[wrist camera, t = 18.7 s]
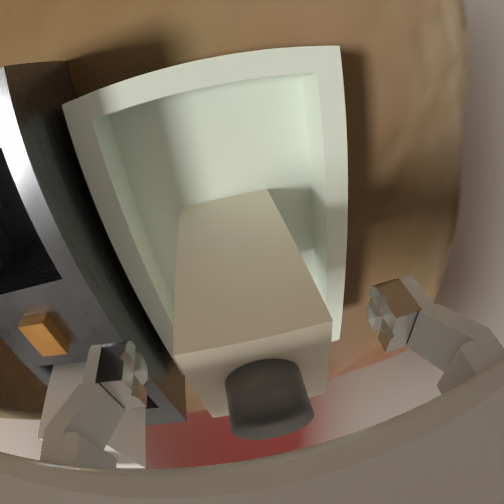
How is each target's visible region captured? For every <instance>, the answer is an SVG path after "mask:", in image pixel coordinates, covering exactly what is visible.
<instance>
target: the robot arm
mask: <svg viewBox="0 0 504 504" xmlns="http://www.w3.org/2000/svg"><path fill="white" fill-rule="evenodd" d="M369 295H370V297H371V300H370V301H369V303H368V304H367V316H368V320H369V323H370V325H371V327H372V328H373V329H374V330H376V331H378V332H379V336H378V339H379V341H380V343H381V345H382V346H383V348H384V350H385V352H389V351H392V350H395V349H398V348H401V347H403V346H406V345H407V346H406V347H408V348H409V349H411V350H412V351H414V352H415V353H417V354H418V355H420V356H421V357H423V358H424V359H426V360H427V361H428V362H430V363H432V364H433V365H434V366H436V367H437V368H439V369H440V370H442V371H443V372H445V373H444V374H443V376H442V377H441V379H440V380H439V382H438V385H437V387H438V388H439V390H440V392H441V394H442V395H440V396H439V397H436V398H434V399H433V400H431V401H429V402H426V403H424V404H423V405H420V406H418V407H416V408H414V409H412V410H410V411H407V412H405V413H403V414H401V415H398V416H396V417H394V418H391V419H389V420H386V421H384V422H381V423H379V424H376V425H374V426H371V427H369V428H366V429H363V430H360V431H358V432H355V433H352V434H349V435H346V436H343V437H340V438H337V439H334V440H330V441H327V442H324V443H320V444H317V445H313V446H310V447H306V448H302V449H298V450H294V451H290V452H286V453H281V454H277V455H273V456H268V457H263V458H257V459H252V460H246V461H241V462H234V463H226V464H219V465H210V466H201V467H190V468H176V469H147V470H146V469H144V470H143V469H138V470H135V469H116V458H115V457H114V456H113V455H111V454H110V453H108V452H106V451H105V450H104V449H105V447H106V445H107V443H108V441H109V440H110V438H111V436H112V434H113V432H114V430H115V429H116V427H117V425H118V423H119V421H120V420H121V418H122V416H123V414H124V412H125V411H126V410H125V409H130V408H140V407H147V390H146V388H145V387H144V386H143V385H144V384H145V382H146V381H147V380H148V371H147V365H146V362H145V360H144V358H143V356H142V355H141V354H139V353H137V352H135V350H136V346H135V345H134V344H133V342H132V341H123V342H115V343H106V344H99V345H92V346H91V348H90V349H89V353H88V358H87V362H86V367H85V372H84V377H83V382H82V384H79V385H78V386H77V388H76V389H75V390H74V391H73V393H72V394H71V395H70V396H69V398H68V399H67V400H66V401H65V403H64V404H63V405H62V407H61V408H60V409H59V410H58V412H57V413H56V414H55V416H54V417H53V418H52V420H51V421H50V422H49V423H48V425H47V426H46V427H45V429H44V436H43V442H42V451H41V457H40V461H39V460H34V459H29V458H24V457H19V456H15V455H11V454H7V453H3V452H0V504H504V348H503V347H502V345H501V344H500V342H499V341H498V340H497V338H496V337H495V335H494V334H493V333H492V331H491V330H490V329H489V328H488V327H485V326H483V325H481V324H479V323H477V322H475V321H473V320H471V319H469V318H467V317H464V316H463V315H460V314H458V313H456V312H454V311H452V310H450V309H448V308H445V307H443V306H441V305H439V304H436V305H434V304H433V302H432V301H431V300H430V298H429V297H428V296H427V295H426V293H425V292H424V291H423V289H422V288H421V287H420V286H419V284H418V283H417V282H416V281H415V279H414V278H413V277H412V276H410V275H406V276H403V277H400V278H397V279H393V280H390V281H387V282H383V283H380V284H377V285H374V286H372V287H371V288H370V292H369Z"/></svg>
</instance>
